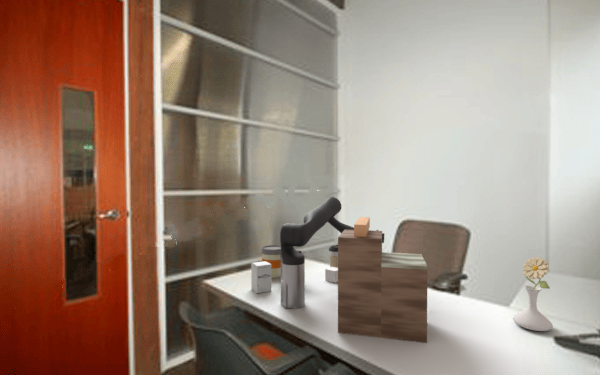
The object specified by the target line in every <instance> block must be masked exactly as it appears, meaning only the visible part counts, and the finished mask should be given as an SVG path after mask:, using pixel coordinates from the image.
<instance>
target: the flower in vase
mask: <svg viewBox="0 0 600 375" xmlns="http://www.w3.org/2000/svg"><path fill="white" fill-rule="evenodd" d="M522 271H523V275H525V278H526V279H527V280H528V281H529V282H531V283H532V284H534V285H530V284H529V285H524V286H523V288H525V290H526V292H527V295H528V296H527V297H528V305H527V307H526V309H524V310H522V311H520V312H517V313H516V314H514V315H513V317H512V320H513V322H514V323H515V324H516V325H518V326H519V327H521V328H524V329H526V330H531V331H536V332H548V331H550V330H552V329H553V328H554V326H553V323H552V321H550V319H549V318H547V316H546V315H544V314H542V313H541V312H540V311H539V309H538V307H537V306H538V305H537V300H538V296H539V293H540V292H541V291H542V289H547V290H548V289H550V286H549V284H548V283H547V281H546V280H541V279H542V278H544V277H545V276H546V275H547V273H548V272H549V271H550V269H549V263H548V261H546V260H544V258H542V257H540V256H539V257H535V256H534V257H532V258H529V259H527V260H525V263H524V264H523V266H522ZM536 279H538V282H535V281H534V280H536ZM538 285H539V286H538Z"/></svg>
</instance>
